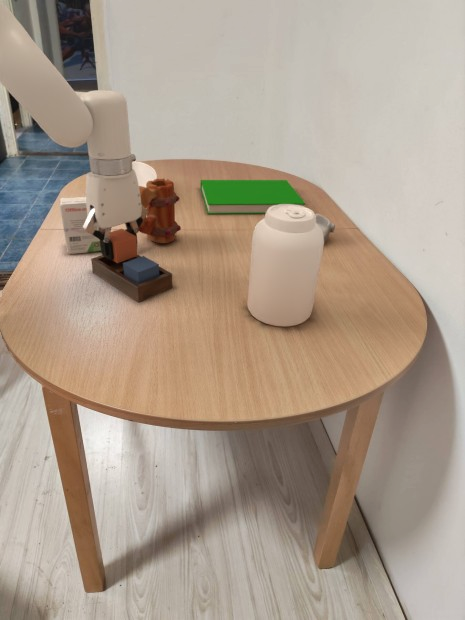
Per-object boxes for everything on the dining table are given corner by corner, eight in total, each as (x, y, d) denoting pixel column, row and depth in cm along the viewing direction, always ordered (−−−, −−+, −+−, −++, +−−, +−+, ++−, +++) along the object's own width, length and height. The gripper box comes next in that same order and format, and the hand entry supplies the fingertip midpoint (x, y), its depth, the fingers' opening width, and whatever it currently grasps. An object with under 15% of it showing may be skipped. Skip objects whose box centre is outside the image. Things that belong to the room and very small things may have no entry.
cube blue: (139, 292, 89) (138, 272, 86) (124, 283, 91) (122, 263, 89) (159, 284, 92) (158, 264, 89) (144, 275, 95) (143, 255, 92)
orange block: (117, 263, 91) (115, 242, 89) (103, 255, 94) (100, 234, 91) (137, 256, 94) (136, 235, 92) (123, 248, 97) (121, 228, 94)
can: (324, 312, 87) (343, 213, 76) (281, 336, 80) (296, 231, 69) (276, 286, 95) (287, 193, 84) (233, 307, 87) (239, 207, 76)
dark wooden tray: (138, 302, 87) (137, 287, 85) (92, 272, 96) (90, 258, 94) (172, 287, 92) (172, 273, 91) (126, 260, 101) (124, 247, 99)
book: (304, 213, 132) (305, 203, 130) (208, 214, 127) (208, 204, 126) (285, 188, 150) (286, 179, 149) (200, 188, 146) (200, 179, 144)
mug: (159, 229, 117) (157, 171, 109) (186, 236, 114) (185, 177, 106) (122, 250, 106) (117, 186, 97) (151, 258, 103) (148, 194, 94)
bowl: (160, 212, 127) (159, 190, 124) (105, 213, 124) (102, 191, 121) (155, 179, 151) (154, 160, 148) (108, 179, 149) (106, 161, 145)
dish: (337, 238, 118) (340, 220, 115) (309, 254, 108) (312, 235, 106) (290, 222, 125) (292, 205, 122) (260, 237, 116) (262, 218, 113)
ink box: (104, 242, 109) (98, 194, 102) (106, 251, 105) (101, 202, 98) (66, 246, 106) (58, 197, 100) (67, 255, 102) (59, 204, 96)
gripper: (136, 153, 91) (142, 236, 101) (58, 168, 81) (73, 259, 91) (160, 161, 87) (164, 247, 97) (80, 178, 76) (94, 273, 86)
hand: (120, 252), depth 94 cm, fingers closed on orange block, 5 cm apart
